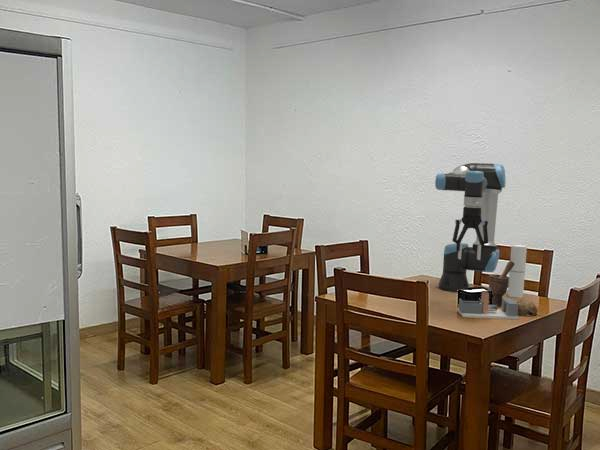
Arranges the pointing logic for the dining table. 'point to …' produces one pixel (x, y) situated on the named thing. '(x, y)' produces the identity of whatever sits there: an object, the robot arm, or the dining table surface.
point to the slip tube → (486, 303)
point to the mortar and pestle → (499, 284)
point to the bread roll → (526, 308)
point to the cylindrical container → (517, 271)
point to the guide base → (475, 311)
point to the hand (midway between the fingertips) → (469, 259)
